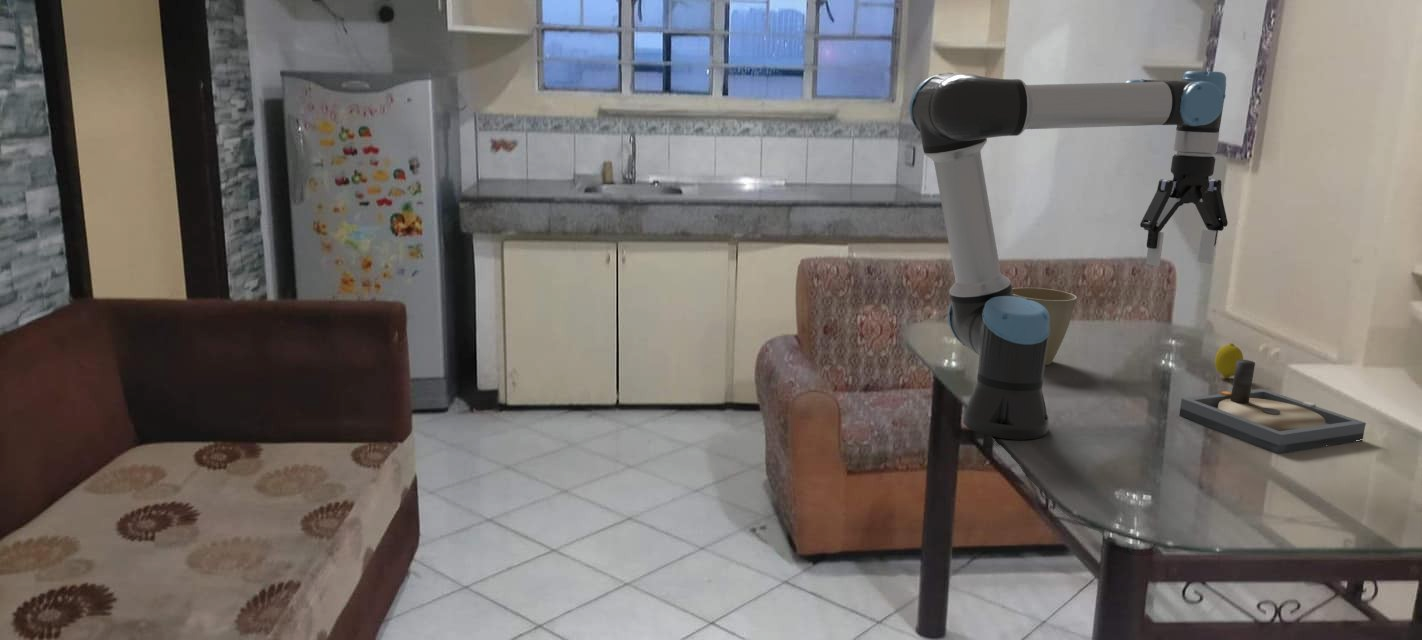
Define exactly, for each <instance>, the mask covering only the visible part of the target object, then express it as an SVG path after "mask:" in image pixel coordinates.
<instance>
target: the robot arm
mask: <svg viewBox="0 0 1422 640" xmlns="http://www.w3.org/2000/svg"><path fill="white" fill-rule="evenodd" d="M1226 87H1227V76H1226V74H1225V73H1224V72H1223V71H1207V70H1206V71H1205V70H1204V71H1203V70H1202V71H1200V70H1186V71H1185V72H1184V74H1183V77H1182V79H1181V80H1165V79H1163V80H1159V79H1158V80H1157V79H1144V78H1142V79H1141V78H1140V79H1128V80H1126V81H1125V82H1101V83H1100V82H1098V83H1096V82H1094V83H1064V84H1063V83H1057V84H1056V83H1055V84H1054V83H1053V84H1052V83H1051V84H1047V83H1046V84H1026V83H1025V81H1023V80H1022V79H1021V78H1017V79H1016V78H1011V79H1010V78H1009V79H1008V78H1007V79H1006V78H996V77H988V76H980V75H976V74H970V73H961V74H959V73H958V74H957V73H953V72H946V73H939V74H935V75H932V76H930V77H928V78H927V79H924V80H923V81H921V83H920V84H918V86H917V87H916V88H915V90H914V91H913V94H912V96H911V98H910V102H909V108H908V109H909V116H910V120H911V122H912V124H913V126H914V127H915V129H916V130H917V131H918V132H919V134H920V139H921V145H922V150H923V154H924V155H925V156H926V157H928V158H930V159H931V160H932V161H933V164H934V169H935V177H936V179H937V181H936V182H937V186H938V187H937V188H938V191H939V198H940V202H941V208H942V214H943V220H944V224H945V230H946V236H947V241H948V246H949V251H950V252H949V253H950V257H951V264H952V268H953V269H952V270H953V274H954V279H955V282H954V283H953V284H952V286H951V287H950V288H949V291H948V292H949V296H950V297H949V299H950V302H951V303H950V304H949V306H948V311H947V322H948V326H949V328H950V330H951V333H952V334H953V335H954V337H955V338H956V339H957V341H958V342H960V344H961V345H963V346H965V347H967V348H968V349H969V350H971V351H972V352H973V353H975V354H977V355H978V366H977V377H976V383H975V386H974V389H973V390H972V393H971V395H970V398H969V401H968V402H967V403H968V404H967V405H966V406H965V408H964V410H963V418H962V419H963V420H962V421H963V424H964V426H966V428H968V429H969V430H972V431H974V432H976V433H978V434H981V435H985V436H988V437H993V438H996V439H997V438H998V439H1004V440H1021V441H1022V440H1023V441H1024V440H1033V439H1039V438H1042V437H1044V436H1046V435H1047V434H1048V431H1049V430H1048V429H1049V421H1050V420H1049V416H1048V414H1047V407H1046V402H1045V398H1044V392H1043V386H1044V385H1043V384H1044V378H1045V376H1044V375H1045V369H1046V365H1045V361H1046V353H1047V344H1048V336H1049V333H1050V326H1049V323H1050V316H1049V313H1048V311H1047V309H1046V308H1045V307H1044V306H1043V305H1041V304H1039V303H1037V302H1035V301H1032V300H1027V299H1025V298H1021V297H1014V296H1013V292H1012V289H1013V287H1012V281H1011V279H1010V278H1009V277H1007V276H1006V275H1004V274H1003V273H1002V272H1001V266H1000V261H999V255H998V249H997V242H996V237H995V236H996V235H995V232H994V226H993V219H992V213H991V207H990V201H989V196H988V195H989V194H988V191H987V189H988V188H987V183H986V177H985V172H984V171H985V170H984V166H983V162H982V161H983V160H982V154H981V151H982V149H983V148H984V146H985V145H986V144H987V142H988V139H990V138H997V137H1009V136H1010V137H1012V136H1013V137H1014V136H1015V137H1018V136H1020V135H1022V133H1024V132H1025V130H1044V129H1045V130H1047V129H1050V130H1051V129H1074V128H1075V129H1077V128H1078V129H1080V128H1083V129H1084V128H1106V127H1107V128H1110V127H1137V126H1139V127H1142V126H1143V127H1144V126H1176V128H1175V129H1176V131H1175V138H1174V144H1173V145H1174V147H1173V150H1174V152H1175V154H1173V155H1172V157H1171V166H1170V173H1171V174H1172V175H1173V177H1172V179H1164V178H1161V179H1159V181H1158V185H1157V189H1156V192H1155V193H1154V196H1153V198H1152V200H1151V202H1150V204H1149V205H1148V207H1147V210H1146V212H1145V213H1144V215H1143V218H1142V220H1141V221H1140V224H1139V226H1140V228H1143V230H1144V231H1147V240H1146V248H1147V252H1146V253H1147V254H1146V259H1145V260H1146V261H1145V265H1149V266H1153V267H1161V266H1160V265H1161V259H1162V258H1161V257H1162V250H1163V245H1164V244H1163V243H1164V236H1165V232H1162V230H1163V228H1164V227H1165V226H1166V225H1167V223H1168V222H1169V221H1170V219H1172V217H1173V216H1174V214H1175V213H1176V212H1177V210H1178V209H1179V207H1182V206H1184V204H1186V205H1187V204H1194V206H1195V207H1196V209H1197V211H1198V213H1199V216H1200V217H1201V220H1202V222H1203V223H1204V226H1205V227H1206V228H1202V229H1201V236H1200V237H1201V238H1200V243H1199V244H1200V245H1199V249H1198V258H1197V262H1199V263H1204V264H1207V265H1210V264H1212V263H1213V255H1214V250H1215V247H1216V245H1217V240H1218V239H1217V238H1218V233H1219V232H1221V231H1222V232H1223V230H1224V227H1227V226H1228V225H1229V223H1228V218H1227V213H1226V209H1225V204H1224V199H1223V194H1222V180H1221V179H1217V178H1216V179H1214V178H1210V177H1211V176H1213V175H1214V172H1215V165H1216V158H1215V156H1214V154H1216V153H1217V151H1218V146H1219V145H1218V144H1219V138H1220V128H1221V123H1222V122H1221V121H1222V116H1223V111H1224V104H1225V99H1226Z"/></svg>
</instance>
